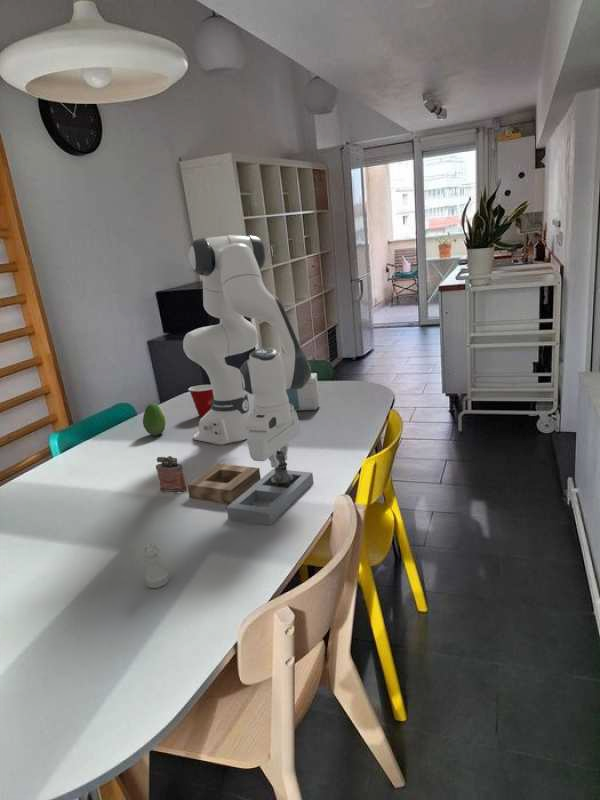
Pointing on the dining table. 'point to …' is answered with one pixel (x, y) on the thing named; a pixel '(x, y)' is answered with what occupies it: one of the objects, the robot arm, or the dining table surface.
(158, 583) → the rook chess piece
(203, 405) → the plastic cup
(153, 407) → the avocado
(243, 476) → the socket block
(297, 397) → the teal banded white box
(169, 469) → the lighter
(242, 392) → the robot arm
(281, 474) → the grey chess piece
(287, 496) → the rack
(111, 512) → the dining table surface
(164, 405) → the dining table surface
